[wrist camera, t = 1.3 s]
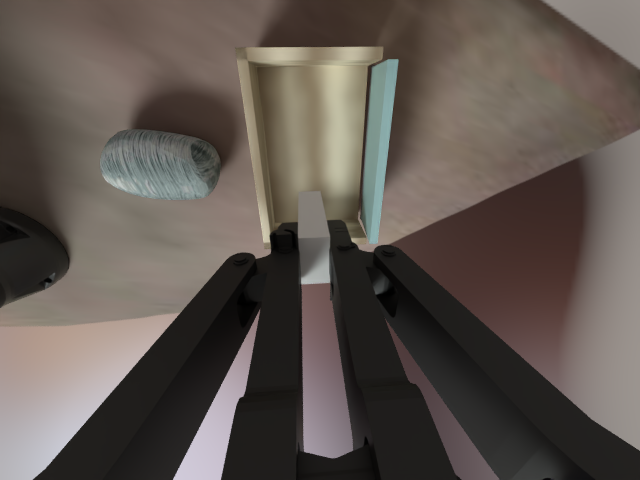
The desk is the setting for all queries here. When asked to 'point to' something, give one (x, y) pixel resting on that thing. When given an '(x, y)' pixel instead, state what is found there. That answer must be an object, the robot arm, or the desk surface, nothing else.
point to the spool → (160, 164)
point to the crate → (306, 129)
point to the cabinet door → (377, 144)
